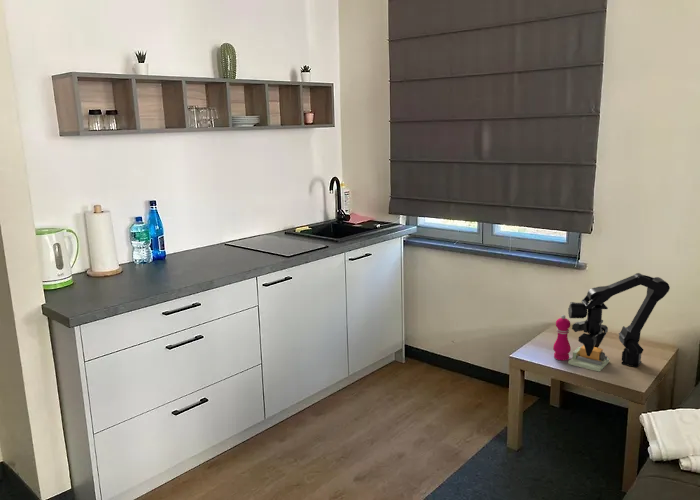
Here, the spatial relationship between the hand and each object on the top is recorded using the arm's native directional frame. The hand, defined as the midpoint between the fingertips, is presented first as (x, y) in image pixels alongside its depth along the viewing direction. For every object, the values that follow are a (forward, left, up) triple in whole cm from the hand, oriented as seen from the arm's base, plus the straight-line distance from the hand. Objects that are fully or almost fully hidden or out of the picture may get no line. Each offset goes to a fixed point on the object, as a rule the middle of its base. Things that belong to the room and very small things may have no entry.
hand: (592, 352), depth 251 cm
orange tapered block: (0, 0, -3) cm, 3 cm away
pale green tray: (+1, +1, -5) cm, 5 cm away
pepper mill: (+12, +2, -5) cm, 13 cm away
